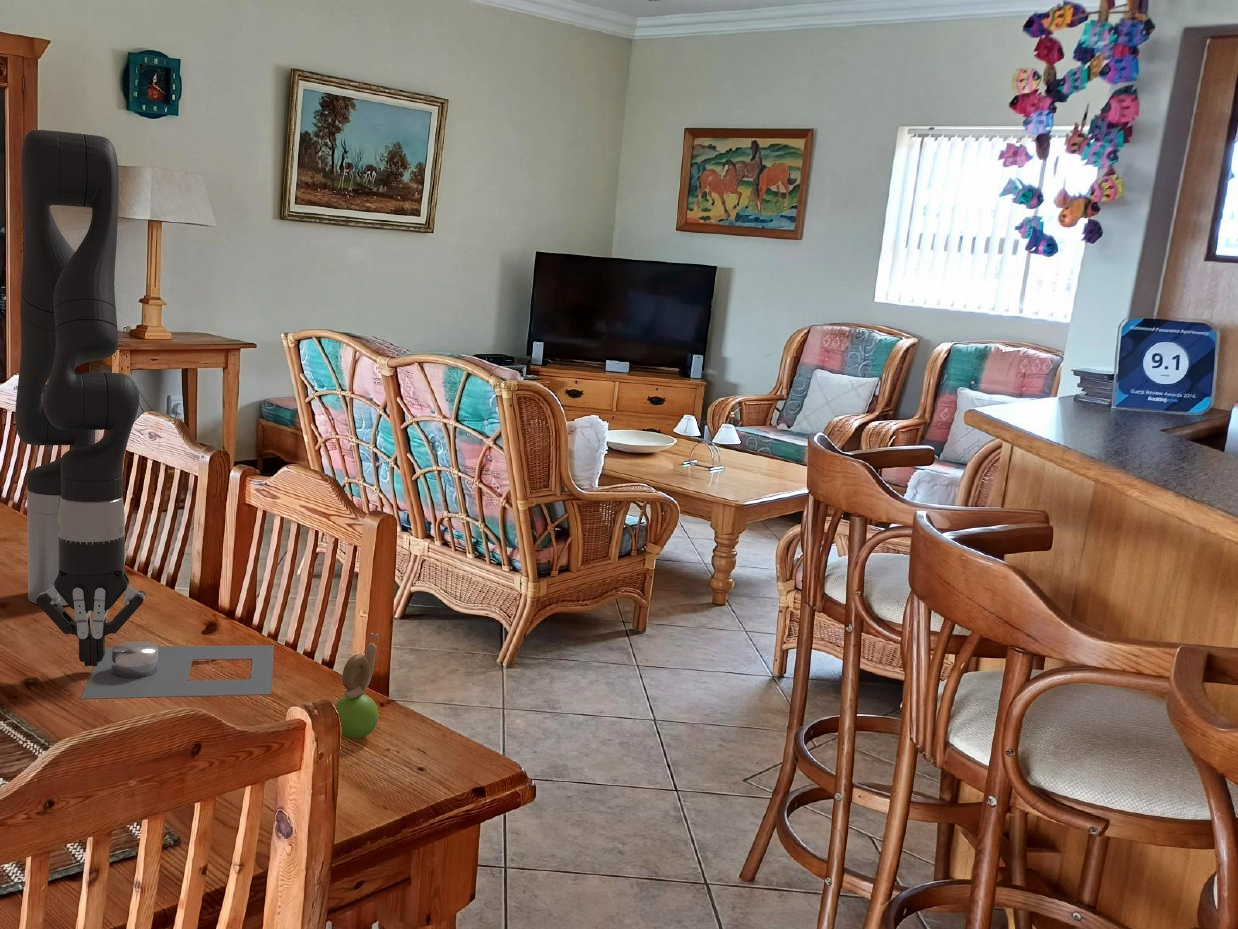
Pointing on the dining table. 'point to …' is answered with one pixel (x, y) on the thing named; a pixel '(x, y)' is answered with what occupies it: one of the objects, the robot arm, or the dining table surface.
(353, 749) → the dining table surface
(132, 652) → the silver rounded puck
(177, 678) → the charcoal board
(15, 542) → the dining table surface
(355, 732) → the green toy figure
